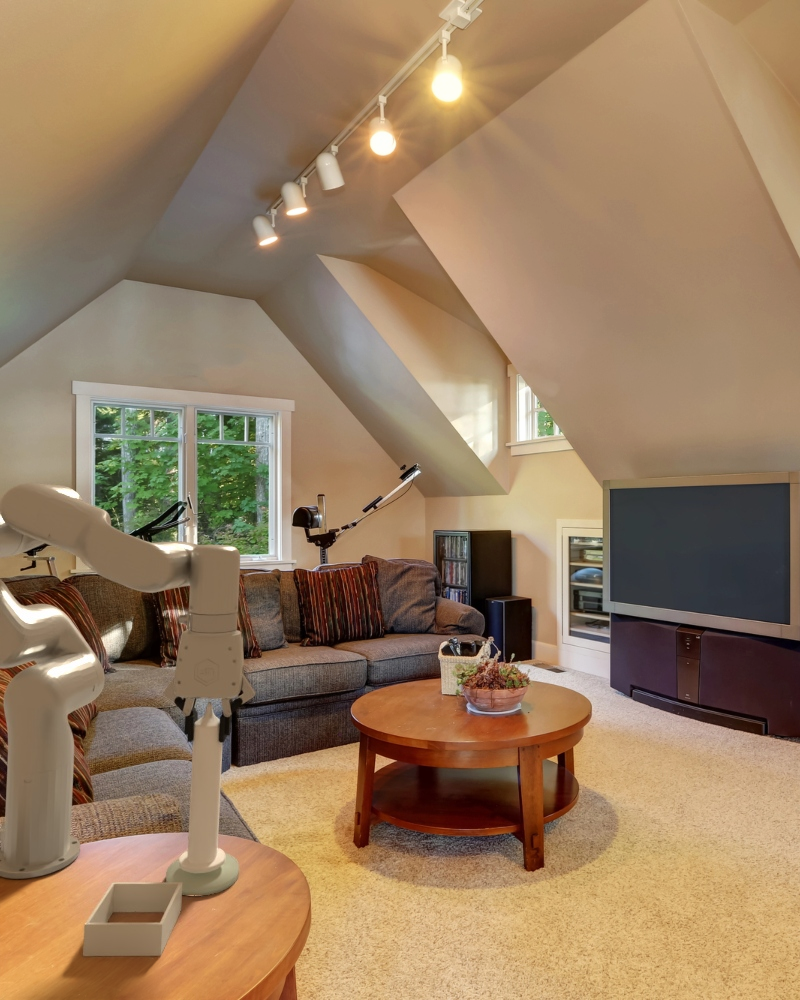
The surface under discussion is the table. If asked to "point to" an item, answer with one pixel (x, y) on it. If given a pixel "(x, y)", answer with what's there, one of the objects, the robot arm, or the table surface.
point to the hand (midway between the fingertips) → (207, 738)
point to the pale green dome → (205, 878)
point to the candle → (204, 798)
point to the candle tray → (133, 935)
